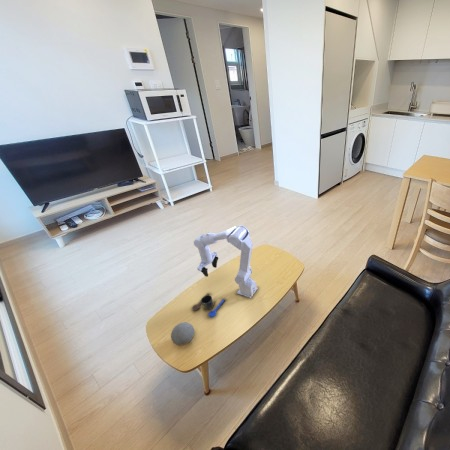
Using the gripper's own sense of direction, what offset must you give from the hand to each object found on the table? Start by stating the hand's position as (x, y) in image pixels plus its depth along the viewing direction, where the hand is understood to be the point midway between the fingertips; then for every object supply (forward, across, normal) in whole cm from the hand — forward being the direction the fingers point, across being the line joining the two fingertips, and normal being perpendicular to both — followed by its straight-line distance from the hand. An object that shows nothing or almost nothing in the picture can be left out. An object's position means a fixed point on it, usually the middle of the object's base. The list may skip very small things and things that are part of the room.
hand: (210, 271), depth 140 cm
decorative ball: (+10, +35, +11) cm, 38 cm away
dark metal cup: (+9, +15, +8) cm, 20 cm away
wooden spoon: (+9, +15, +3) cm, 18 cm away
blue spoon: (+9, +15, +14) cm, 23 cm away
